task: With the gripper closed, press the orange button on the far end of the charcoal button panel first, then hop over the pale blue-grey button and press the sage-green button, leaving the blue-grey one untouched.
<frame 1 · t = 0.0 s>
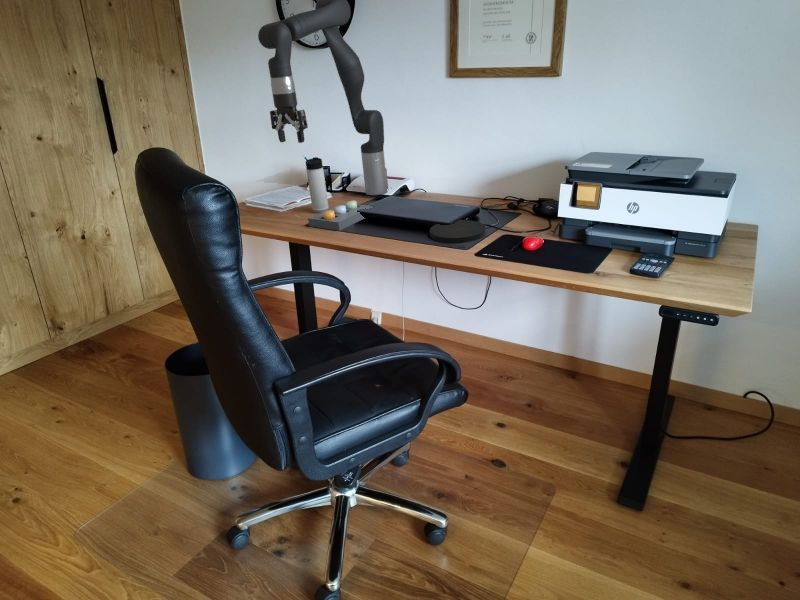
hand: (291, 142, 189), 29 cm above the table, fingers open, 8 cm apart
button panel: (341, 220, 203), on the table
orange button: (329, 216, 197), point 3 cm above the table, slide at 0.0 cm
travel mug: (321, 211, 217), on the table
sage button: (351, 206, 207), point 3 cm above the table, slide at 0.0 cm
wireless charger: (457, 235, 180), on the table
blue-grey button: (340, 211, 202), point 3 cm above the table, slide at 0.0 cm
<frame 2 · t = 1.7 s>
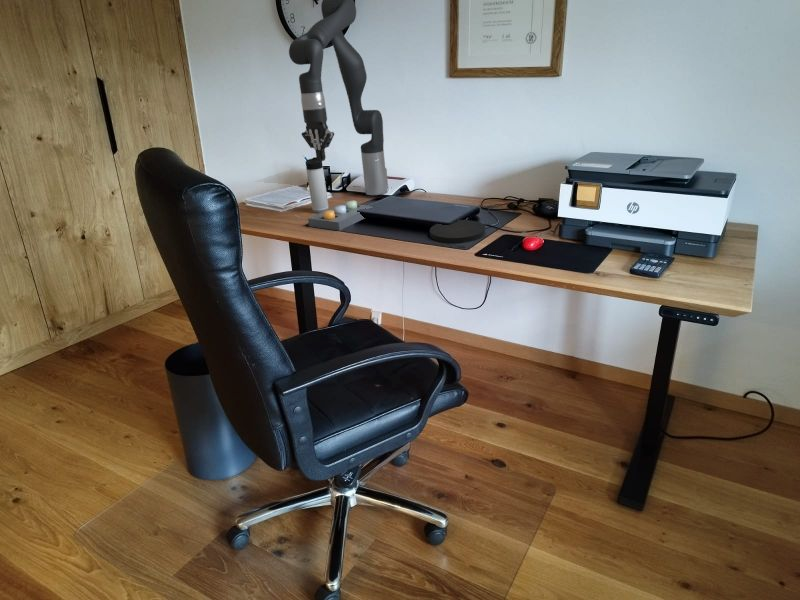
hand: (321, 160, 189), 23 cm above the table, fingers closed
nothing on the table moved.
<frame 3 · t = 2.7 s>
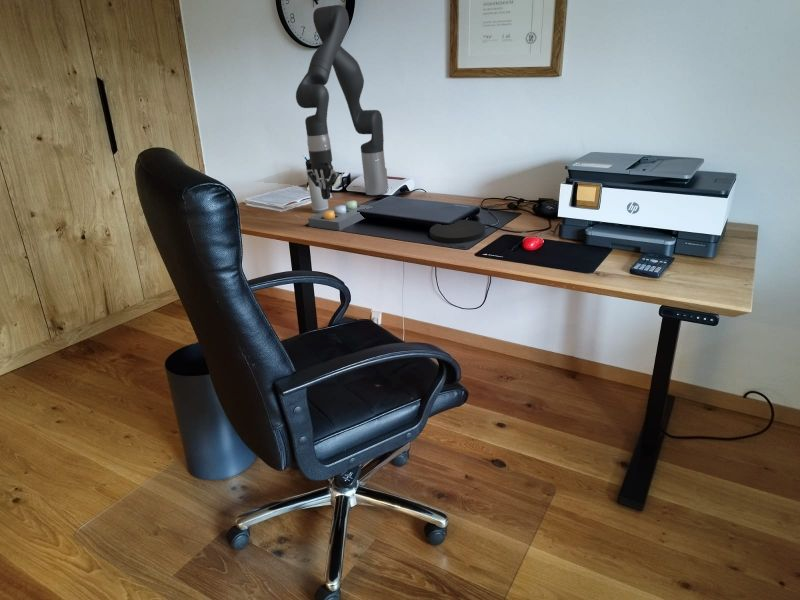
hand: (326, 198, 194), 10 cm above the table, fingers closed
nothing on the table moved.
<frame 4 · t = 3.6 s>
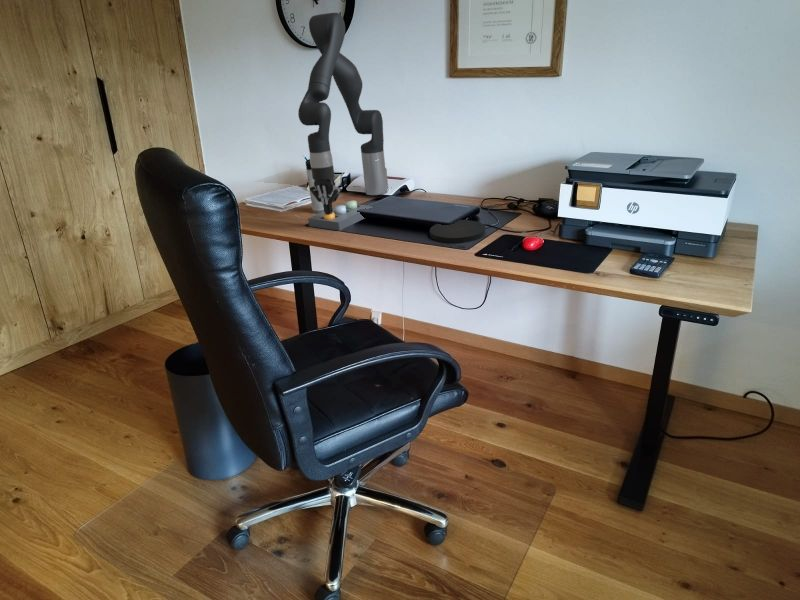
hand: (328, 213, 197), 4 cm above the table, fingers closed
orange button: (329, 218, 197), point 3 cm above the table, slide at 0.7 cm, touching gripper
everything else where it was.
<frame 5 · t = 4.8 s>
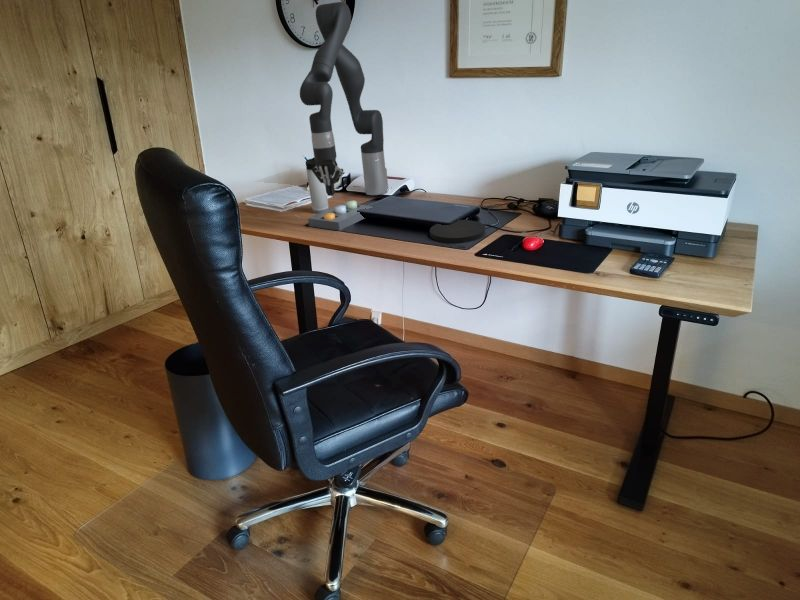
hand: (331, 194, 196), 10 cm above the table, fingers closed
orange button: (329, 219, 198), point 2 cm above the table, slide at 0.9 cm
everything else where it was.
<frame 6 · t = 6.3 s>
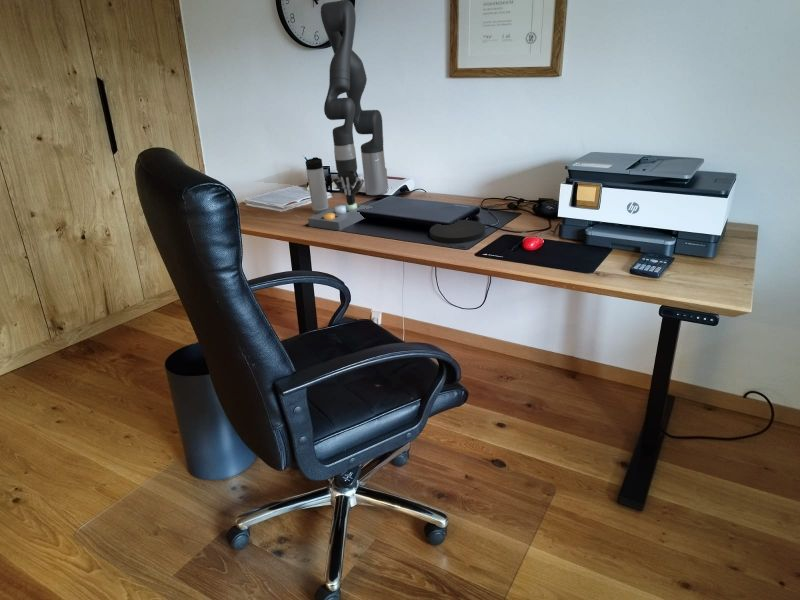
hand: (351, 204, 206), 4 cm above the table, fingers closed
sage button: (351, 208, 207), point 2 cm above the table, slide at 0.9 cm, touching gripper
everything else where it was.
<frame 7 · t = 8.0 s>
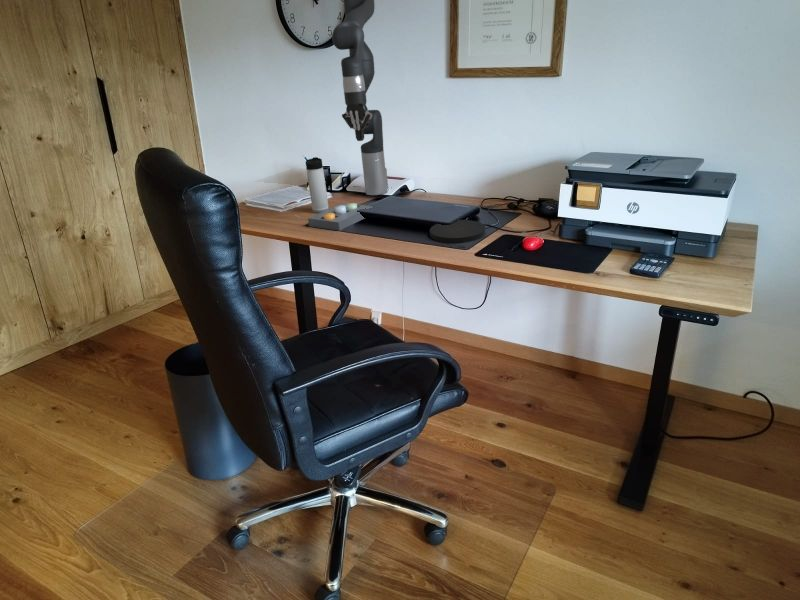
hand: (360, 140, 201), 26 cm above the table, fingers closed
sage button: (351, 209, 207), point 2 cm above the table, slide at 0.9 cm
everything else where it was.
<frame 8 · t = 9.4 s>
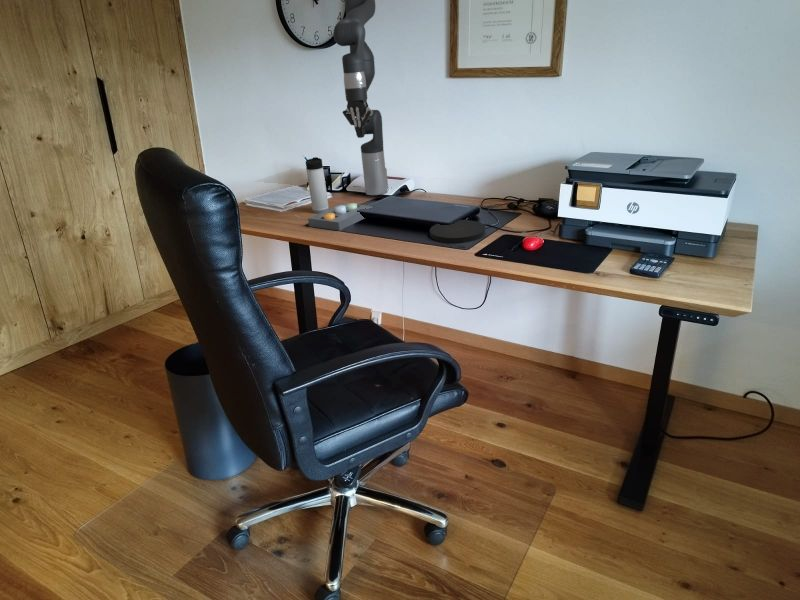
hand: (360, 137, 201), 27 cm above the table, fingers closed
nothing on the table moved.
at the end: orange button slide at 0.9 cm; sage button slide at 0.9 cm; blue-grey button slide at 0.0 cm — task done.
